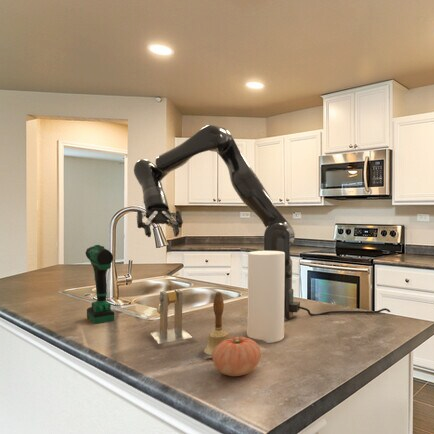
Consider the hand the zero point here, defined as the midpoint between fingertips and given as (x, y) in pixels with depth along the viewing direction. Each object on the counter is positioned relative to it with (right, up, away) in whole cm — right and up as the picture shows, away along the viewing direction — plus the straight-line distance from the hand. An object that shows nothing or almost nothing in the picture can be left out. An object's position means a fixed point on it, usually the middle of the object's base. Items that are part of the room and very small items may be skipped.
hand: (163, 235), depth 128 cm
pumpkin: (+34, -30, -40) cm, 60 cm away
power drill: (-25, -28, +4) cm, 38 cm away
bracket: (+10, -29, -18) cm, 36 cm away
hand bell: (+27, -30, -29) cm, 49 cm away
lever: (+8, -21, -15) cm, 27 cm away
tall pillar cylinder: (+37, -30, -15) cm, 50 cm away
